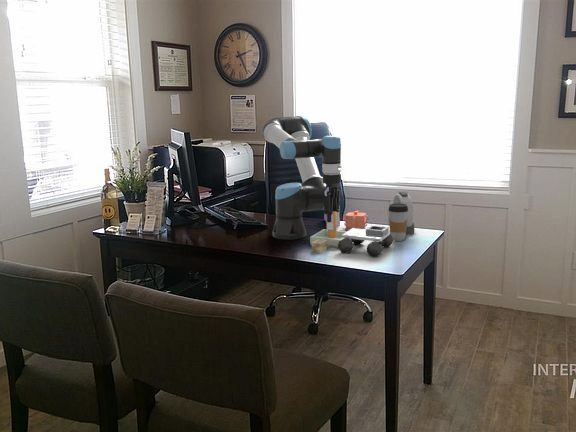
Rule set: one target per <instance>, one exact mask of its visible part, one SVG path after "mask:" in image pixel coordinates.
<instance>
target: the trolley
mask: <svg viewBox="0 0 576 432" xmlns="http://www.w3.org/2000/svg"><path fill="white" fill-rule="evenodd" d="M342 238H344V239H342V240H341V241H339V243H338V248H337V249H338V250H339V251H340V253H341V254H349V253H350V252H352V251H353V249H354V245H361V244H363V243H364V242H365V241H368V242H369V241H370V243H369V244H367V247H366V252H367V254H368V255H369V256H370V257H373V258H377V257H379V256H380V255H381V254H382V253H383V250H384V249H383V248H385V249H386V248H389V247H390V246H392V245H393V242H394V240H393V237H392V236H391V235H390V227H389V226H384V225H383V226H381V225H372V224H371V225H370V226H369V227H366V228H364V229H358V228H352V229H350V230H349V229H348V230H347V231H346V233H344V234H342ZM348 238H350V239H351V240H350V239H348Z"/></svg>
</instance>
